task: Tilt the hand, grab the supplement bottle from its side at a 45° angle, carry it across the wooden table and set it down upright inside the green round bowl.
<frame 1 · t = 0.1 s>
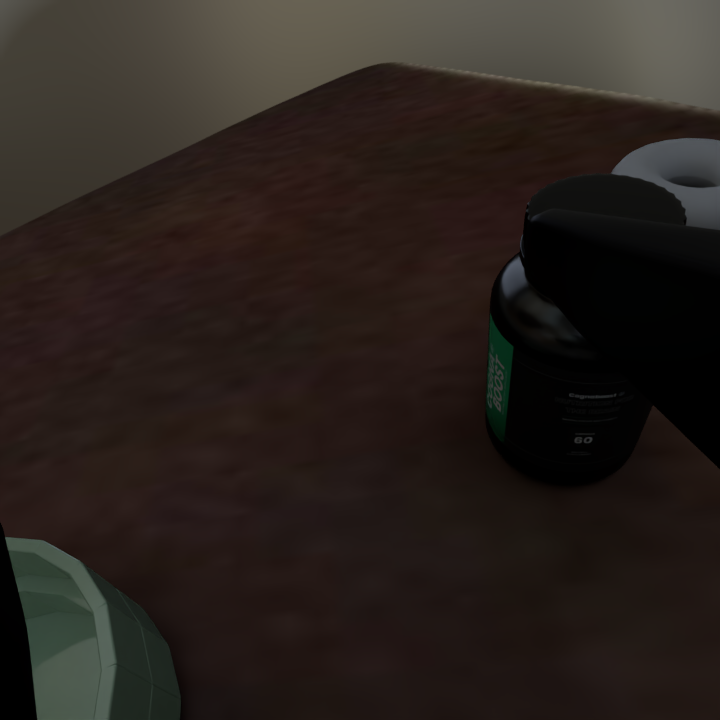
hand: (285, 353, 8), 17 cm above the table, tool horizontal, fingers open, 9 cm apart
donut: (680, 213, 36), on the table
supplement bottle: (556, 429, 26), on the table
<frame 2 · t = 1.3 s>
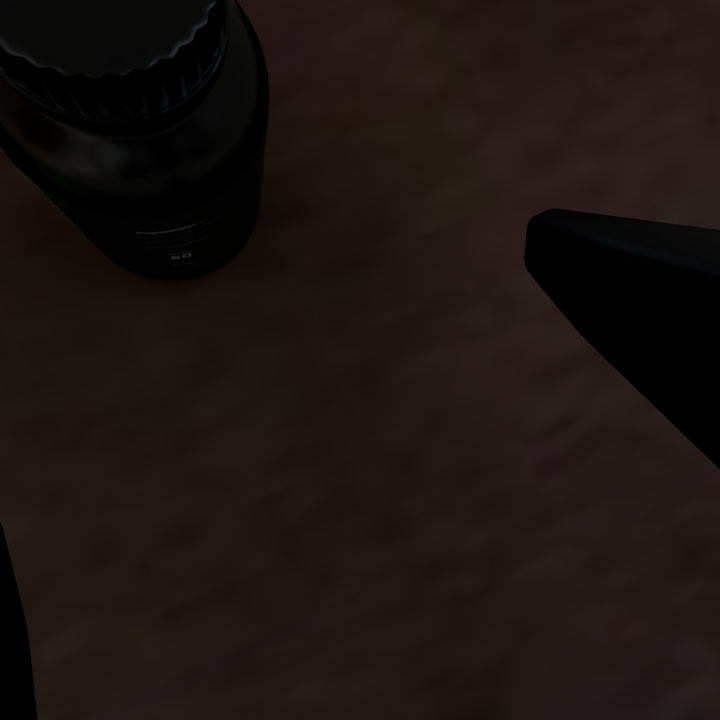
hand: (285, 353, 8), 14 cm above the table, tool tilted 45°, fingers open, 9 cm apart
supplement bottle: (172, 201, 21), on the table
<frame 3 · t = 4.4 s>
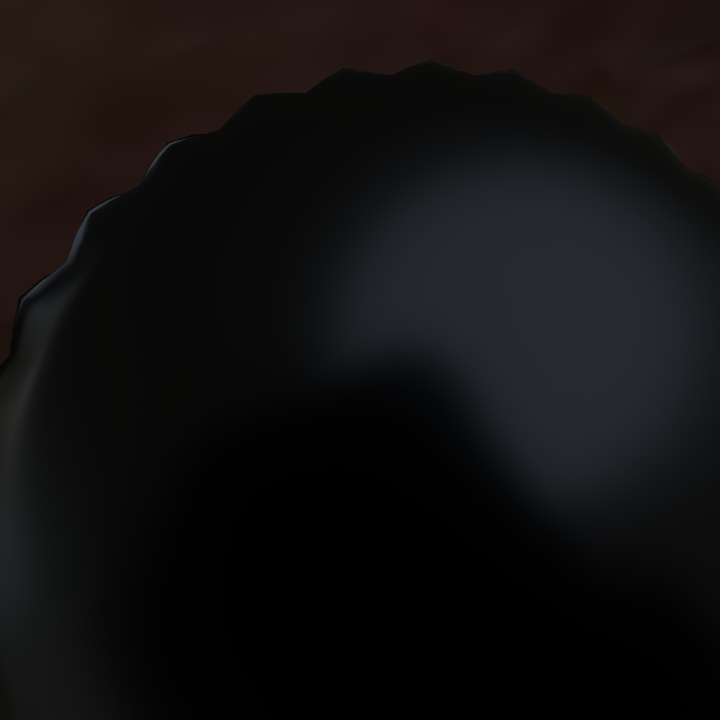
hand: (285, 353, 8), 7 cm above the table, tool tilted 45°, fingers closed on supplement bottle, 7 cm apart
supplement bottle: (286, 417, 14), on the table, touching gripper
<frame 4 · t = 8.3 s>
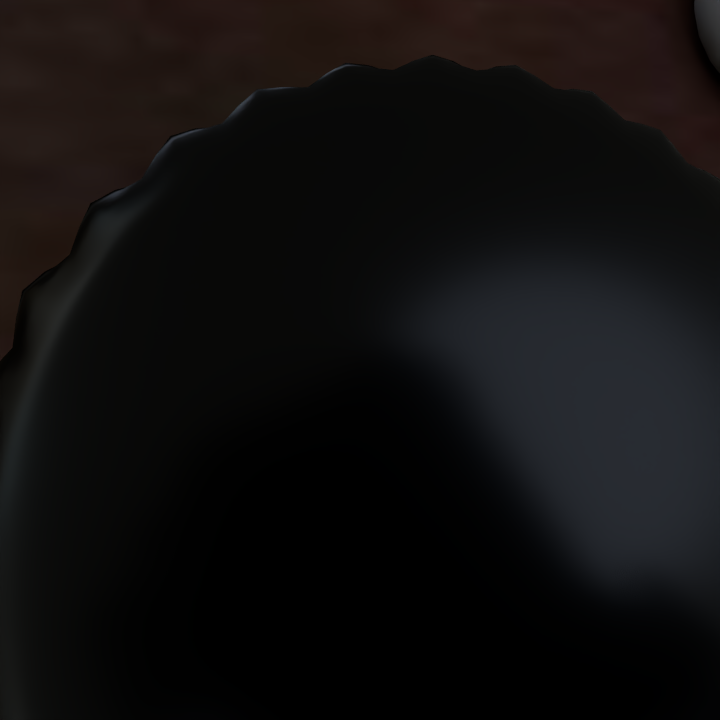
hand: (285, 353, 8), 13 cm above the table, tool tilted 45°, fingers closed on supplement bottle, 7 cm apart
supplement bottle: (286, 416, 14), point 6 cm above the table, touching gripper
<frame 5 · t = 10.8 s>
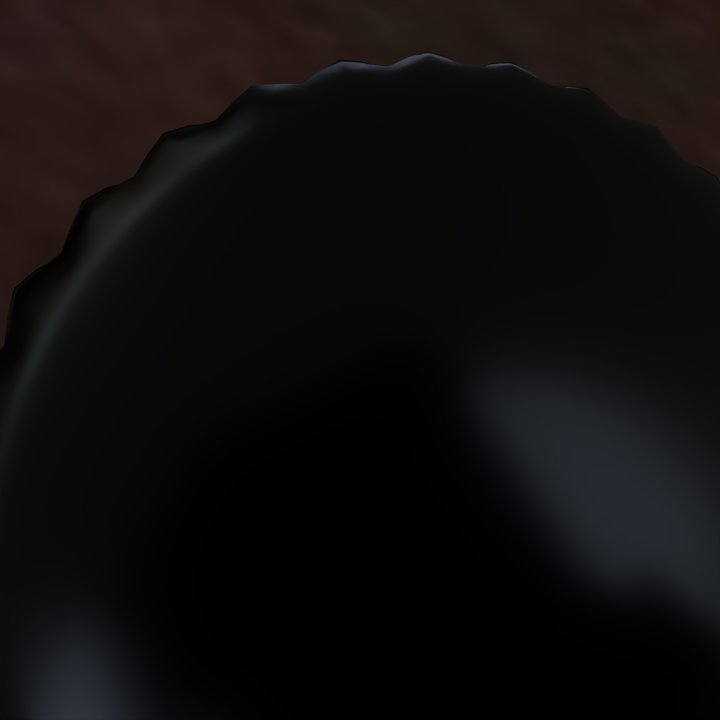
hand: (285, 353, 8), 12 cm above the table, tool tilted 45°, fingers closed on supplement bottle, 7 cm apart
supplement bottle: (285, 416, 14), point 5 cm above the table, touching gripper
when the fingers open (7 cm above the table, at t = 12.7 s): supplement bottle stays where it is, resting on green round bowl.
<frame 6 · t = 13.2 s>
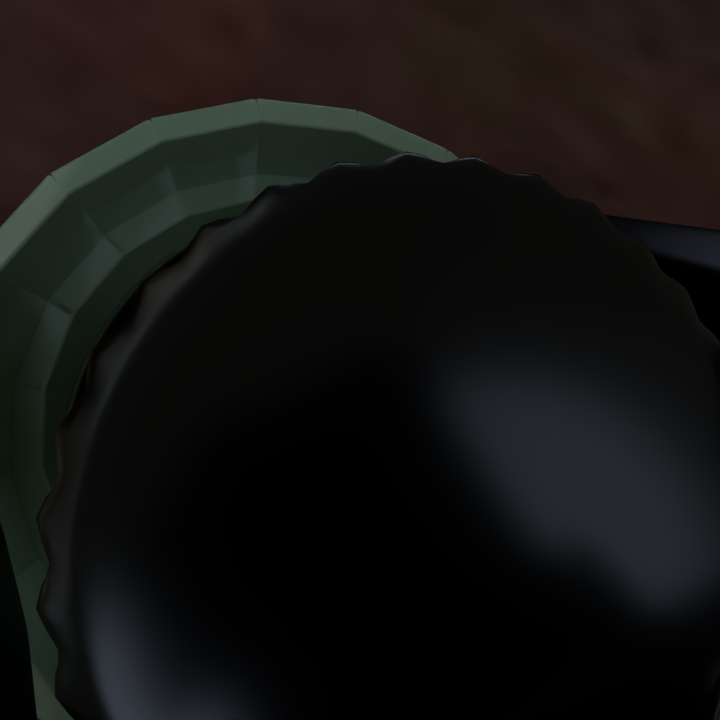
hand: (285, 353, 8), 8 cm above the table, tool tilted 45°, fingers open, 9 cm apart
green round bowl: (285, 417, 15), on the table
supplement bottle: (288, 422, 15), resting on green round bowl
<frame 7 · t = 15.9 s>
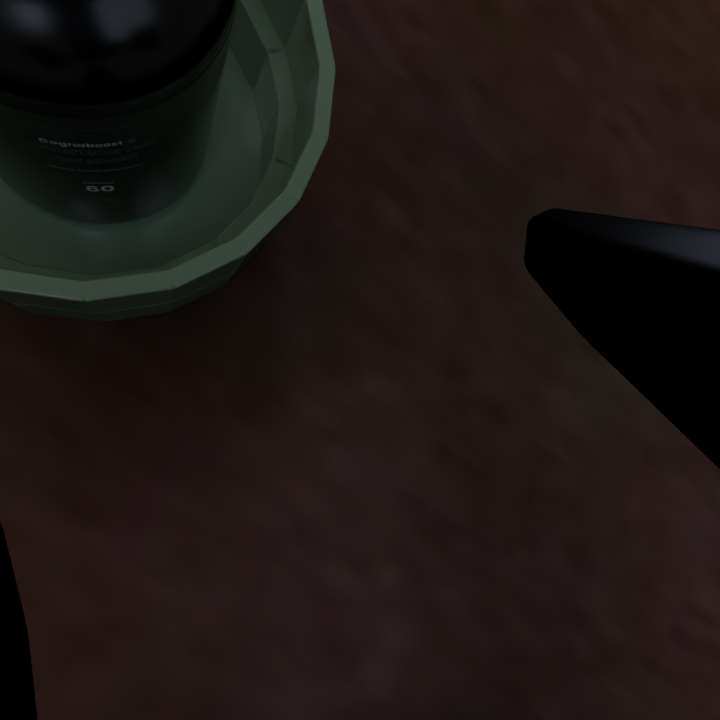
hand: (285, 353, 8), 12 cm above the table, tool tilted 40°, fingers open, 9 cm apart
green round bowl: (97, 127, 17), on the table
supplement bottle: (97, 127, 17), resting on green round bowl
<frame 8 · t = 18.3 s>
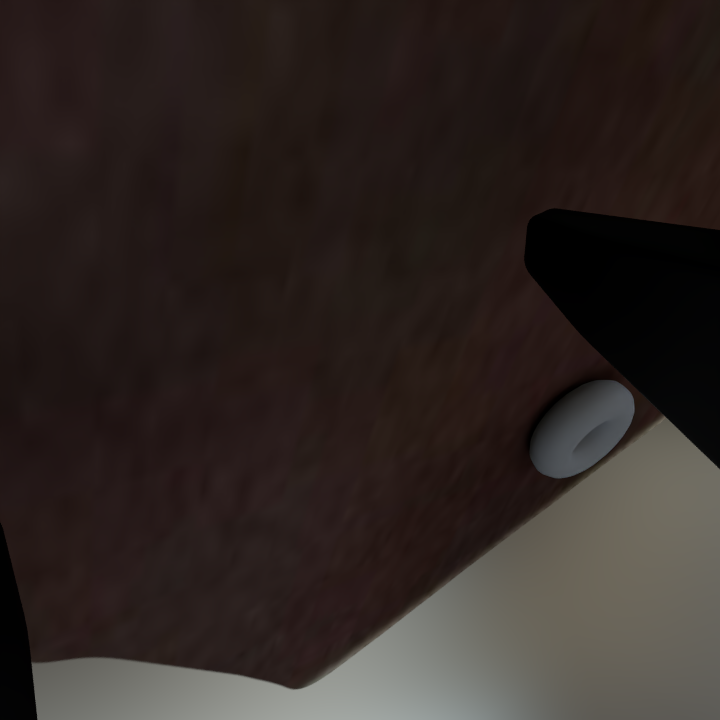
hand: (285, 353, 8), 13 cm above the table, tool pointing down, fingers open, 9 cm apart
donut: (565, 415, 45), on the table
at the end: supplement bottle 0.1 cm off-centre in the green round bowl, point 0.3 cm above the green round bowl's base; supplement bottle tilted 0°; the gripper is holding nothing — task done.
